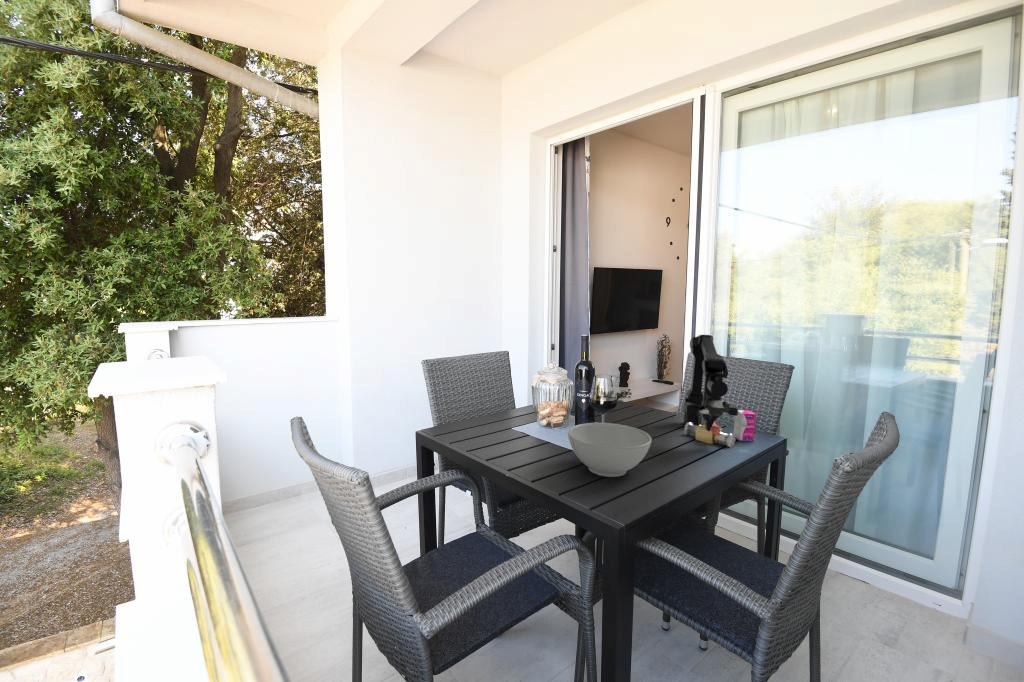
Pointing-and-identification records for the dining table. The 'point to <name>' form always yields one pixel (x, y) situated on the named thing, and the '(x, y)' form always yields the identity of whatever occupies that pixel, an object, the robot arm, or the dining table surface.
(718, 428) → the lever
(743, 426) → the supplement box
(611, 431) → the decorative bowl
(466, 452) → the dining table surface
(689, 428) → the valve body
